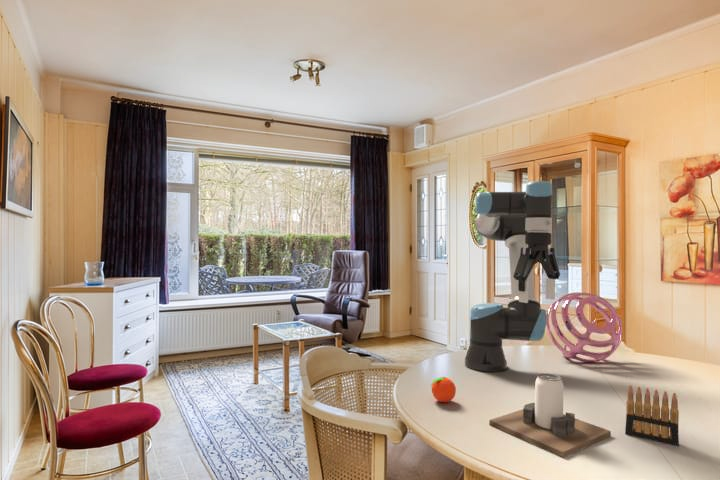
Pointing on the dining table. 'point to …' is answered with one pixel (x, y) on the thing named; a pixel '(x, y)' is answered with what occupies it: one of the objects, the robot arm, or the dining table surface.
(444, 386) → the clementine
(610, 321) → the pink slotted hollow sphere
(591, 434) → the wooden board with blocks
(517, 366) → the dining table surface
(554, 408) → the can
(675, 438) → the ammunition clip
